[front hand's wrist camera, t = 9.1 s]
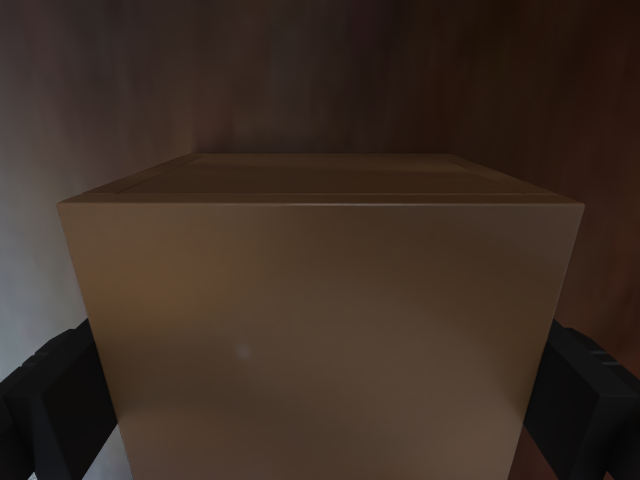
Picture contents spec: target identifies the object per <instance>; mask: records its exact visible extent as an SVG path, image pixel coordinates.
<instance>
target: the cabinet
mask: <svg viewBox="0 0 640 480" xmlns="http://www.w3.org/2000/svg"><path fill="white" fill-rule="evenodd" d="M584 208H585V204H584V203H581V202H579V201H576V200H573V199H571V198H568V197H565V196H563V195H558V194H556V193H554V192H551V191H549V190H546V189H543V188H541V187H538V186H535V185H533V184H530V183H527V182H525V181H522V180H519V179H517V178H514V177H511V176H509V175H506V174H503V173H501V172H498V171H495V170H493V169H490V168H488V167H485V166H482V165H480V164H477V163H474V162H472V161H469V160H466V159H464V158H461V157H458V156H456V155H453V154H451V153H190V154H187V155H185V156H181V157H179V158H176V159H173V160H171V161H168V162H165V163H162V164H160V165H157V166H154V167H152V168H149V169H146V170H144V171H141V172H138V173H135V174H133V175H130V176H127V177H125V178H122V179H119V180H117V181H114V182H111V183H108V184H106V185H103V186H100V187H98V188H95V189H92V190H90V191H87V192H84V193H82V194H80V195H77V196H74V197H72V198H69V199H66V200H64V201H61V202H58V203H57V209H58V213H59V217H60V220H61V224H62V227H63V231H64V234H65V238H66V241H67V245H68V249H69V252H70V256H71V259H72V263H73V266H74V270H75V273H76V277H77V280H78V284H79V288H80V291H81V295H82V298H83V302H84V305H85V309H86V312H87V316H88V319H89V323H90V327H91V330H92V334H93V337H94V341H95V344H96V348H97V351H98V355H99V359H100V362H101V366H102V369H103V373H104V376H105V380H106V383H107V387H108V390H109V394H110V398H111V401H112V405H113V408H114V412H115V415H116V419H117V422H118V426H119V430H120V433H121V437H122V440H123V444H124V447H125V451H126V454H127V458H128V461H129V465H130V469H131V472H132V476H133V479H134V480H507V478H508V475H509V471H510V468H511V464H512V461H513V457H514V454H515V450H516V447H517V443H518V440H519V436H520V433H521V429H522V426H523V422H524V419H525V415H526V412H527V408H528V405H529V401H530V398H531V394H532V391H533V387H534V384H535V380H536V377H537V373H538V370H539V366H540V363H541V359H542V355H543V352H544V348H545V345H546V341H547V338H548V334H549V331H550V327H551V324H552V320H553V317H554V313H555V310H556V306H557V303H558V299H559V296H560V292H561V289H562V285H563V282H564V278H565V275H566V271H567V268H568V264H569V261H570V257H571V254H572V250H573V247H574V243H575V240H576V236H577V233H578V229H579V226H580V222H581V219H582V215H583V212H584Z"/></svg>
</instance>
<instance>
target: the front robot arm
mask: <svg viewBox="0 0 640 480" xmlns="http://www.w3.org/2000/svg"><path fill="white" fill-rule="evenodd" d="M117 423H118V422H117V419H116V415H115V412H114V408H113V405H112V401H111V398H110V394H109V390H108V387H107V383H106V380H105V376H104V373H103V369H102V366H101V362H100V359H99V355H98V351H97V348H96V344H95V341H94V337H93V334H92V330H91V327H90V323H89V319H88V318H87V319H86V320H85V321H84V322H82V323H81V324H80V325H79V326H78V327H77V328H76V329H69V330H67V331H65V332H63V333H61V334H60V335H58V336H56V337H54V338H52V339H51V340H49V341H48V342H47V343H46V344H45V345H43V346H42V347H41V348H40V349H39V350H38V351H36V352H35V355H32V356H31V357H29V358H28V359H27V360H26V361H25V362H24V363H23V364H22V367H18V368H17V369H16V370H14V371H13V372H12V373H11V374H10V375H9V376H8V377H6V378H5V379H4V380H3V381H2V382H1V383H0V480H28V479H29V477H30V476H31V475H32V473H33V472H35V475H36V477H37V479H38V480H82V478H83V477H84V475H85V474H86V472H87V471H88V469H89V467H90V466H91V464H92V463H93V461H94V460H95V458H96V456H97V455H98V453H99V452H100V450H101V449H102V447H103V445H104V444H105V442H106V441H107V439H108V438H109V436H110V434H111V433H112V431H113V430H114V428H115V427H116V425H117ZM523 424H524V426H525V427H526V429H527V431H528V432H529V434H530V435H531V437H532V438H533V440H534V442H535V443H536V445H537V446H538V448H539V449H540V451H541V453H542V454H543V456H544V457H545V459H546V460H547V462H548V464H549V465H550V467H551V468H552V470H553V471H554V473H555V475H556V476H557V478H558V479H559V480H603V478H604V476H605V474H606V471H608V472H609V473H610V475H611V476H612V477H613V478H614V480H640V380H639V379H637V378H636V377H635V376H634V375H633V374H632V373H630V372H629V371H628V370H627V369H626V368H625V367H623V366H622V365H619V362H618V361H616V360H615V359H614V358H613V357H612V356H611V355H609V354H606V351H605V350H604V349H602V348H601V347H600V346H599V345H598V344H597V343H596V342H594V341H593V340H592V339H591V338H589V337H587V336H585V335H583V334H582V333H580V332H578V331H576V330H574V329H573V328H563V327H562V326H561V325H560V324H559V323H558V322H557V321H556V320H555V319H554V318H553V320H552V324H551V327H550V331H549V334H548V338H547V341H546V345H545V348H544V352H543V355H542V359H541V363H540V366H539V370H538V373H537V377H536V380H535V384H534V387H533V391H532V394H531V398H530V401H529V405H528V408H527V412H526V415H525V419H524V422H523Z"/></svg>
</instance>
